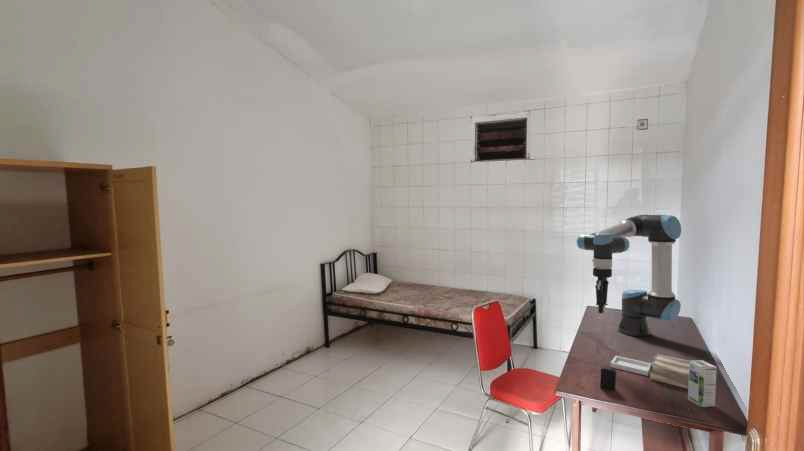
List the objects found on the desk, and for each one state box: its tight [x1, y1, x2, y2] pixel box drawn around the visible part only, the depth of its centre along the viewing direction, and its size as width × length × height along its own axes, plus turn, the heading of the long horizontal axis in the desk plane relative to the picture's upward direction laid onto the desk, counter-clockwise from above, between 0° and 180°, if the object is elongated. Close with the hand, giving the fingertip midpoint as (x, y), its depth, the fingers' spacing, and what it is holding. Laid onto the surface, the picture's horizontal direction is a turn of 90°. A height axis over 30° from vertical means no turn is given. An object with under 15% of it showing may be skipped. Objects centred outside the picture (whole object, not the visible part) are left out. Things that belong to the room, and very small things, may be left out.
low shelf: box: [649, 353, 690, 389], centre depth 158 cm, size 16×14×6 cm
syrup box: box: [687, 359, 717, 408], centre depth 137 cm, size 6×6×14 cm
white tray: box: [609, 355, 652, 377], centre depth 167 cm, size 10×14×2 cm
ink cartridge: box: [599, 366, 617, 392], centre depth 149 cm, size 5×2×8 cm, turn 52°
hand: (601, 319), depth 174 cm, fingers closed
